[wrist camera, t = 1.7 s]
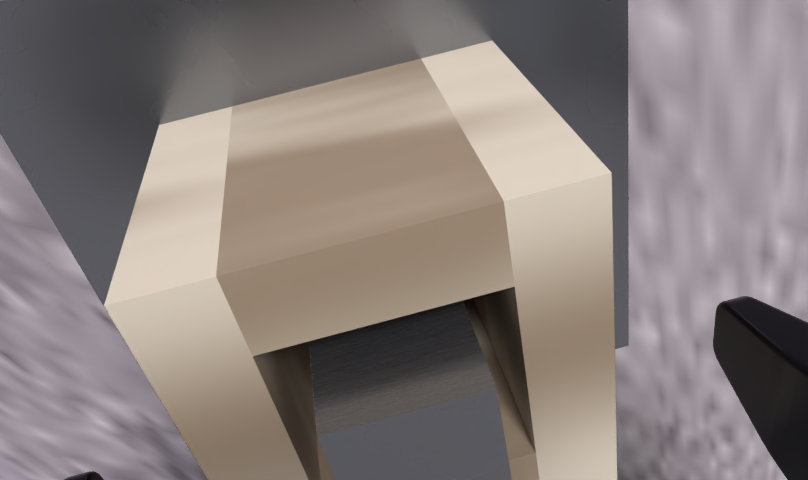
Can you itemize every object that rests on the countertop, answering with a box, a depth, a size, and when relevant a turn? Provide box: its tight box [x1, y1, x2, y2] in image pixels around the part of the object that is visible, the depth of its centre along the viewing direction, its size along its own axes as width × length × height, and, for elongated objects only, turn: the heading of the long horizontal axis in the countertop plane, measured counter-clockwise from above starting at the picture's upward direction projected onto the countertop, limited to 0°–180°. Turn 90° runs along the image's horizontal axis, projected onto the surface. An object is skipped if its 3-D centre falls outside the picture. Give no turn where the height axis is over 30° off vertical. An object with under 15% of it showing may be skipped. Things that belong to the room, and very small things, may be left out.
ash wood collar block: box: [104, 41, 617, 480], centre depth 12 cm, size 6×6×5 cm
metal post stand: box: [0, 0, 628, 480], centre depth 12 cm, size 11×11×7 cm
